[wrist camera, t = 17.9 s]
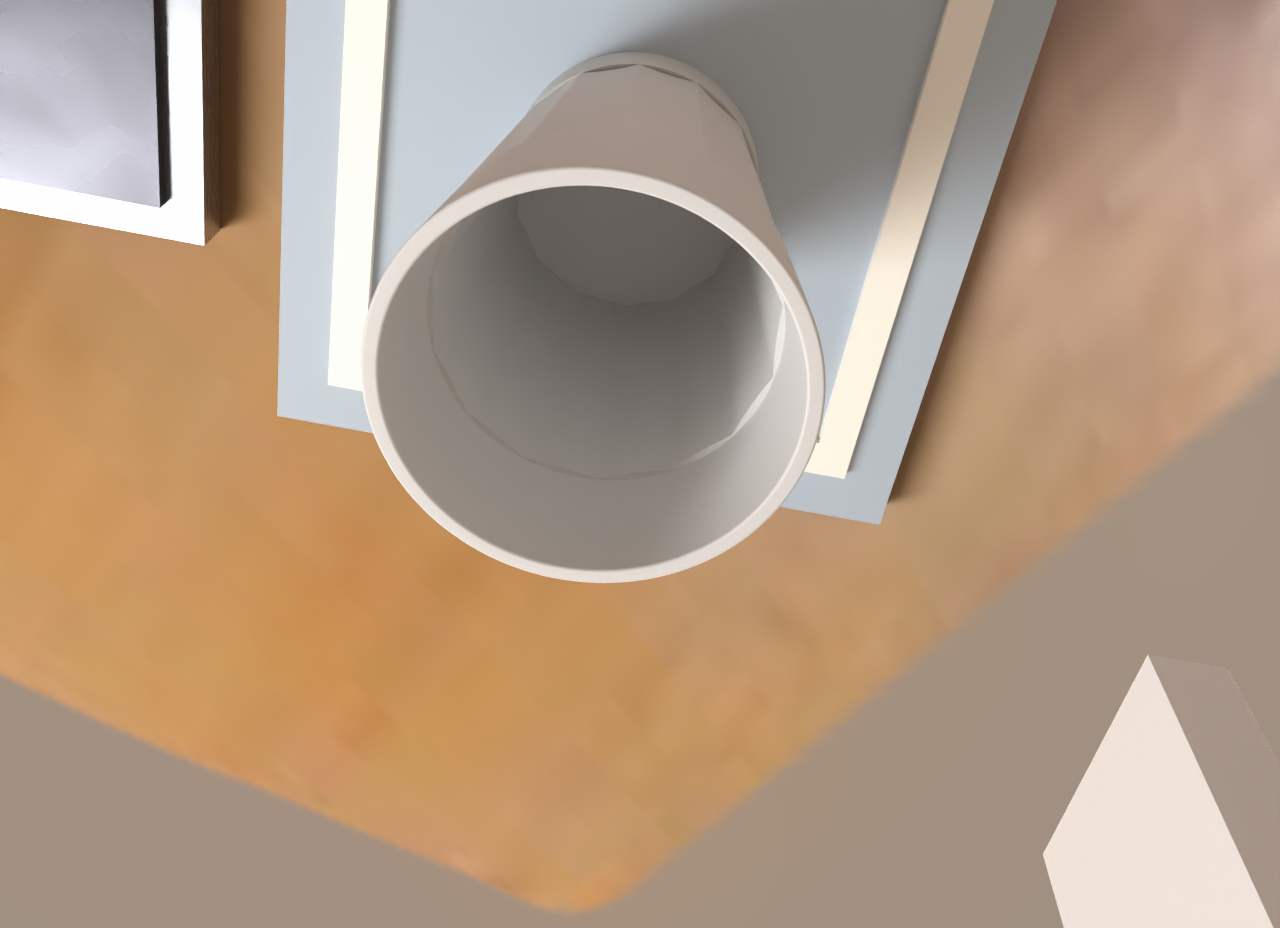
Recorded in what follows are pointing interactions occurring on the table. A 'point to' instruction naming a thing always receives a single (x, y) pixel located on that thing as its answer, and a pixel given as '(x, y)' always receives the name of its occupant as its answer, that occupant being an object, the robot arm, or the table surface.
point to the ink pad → (112, 114)
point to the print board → (786, 153)
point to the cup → (600, 336)
